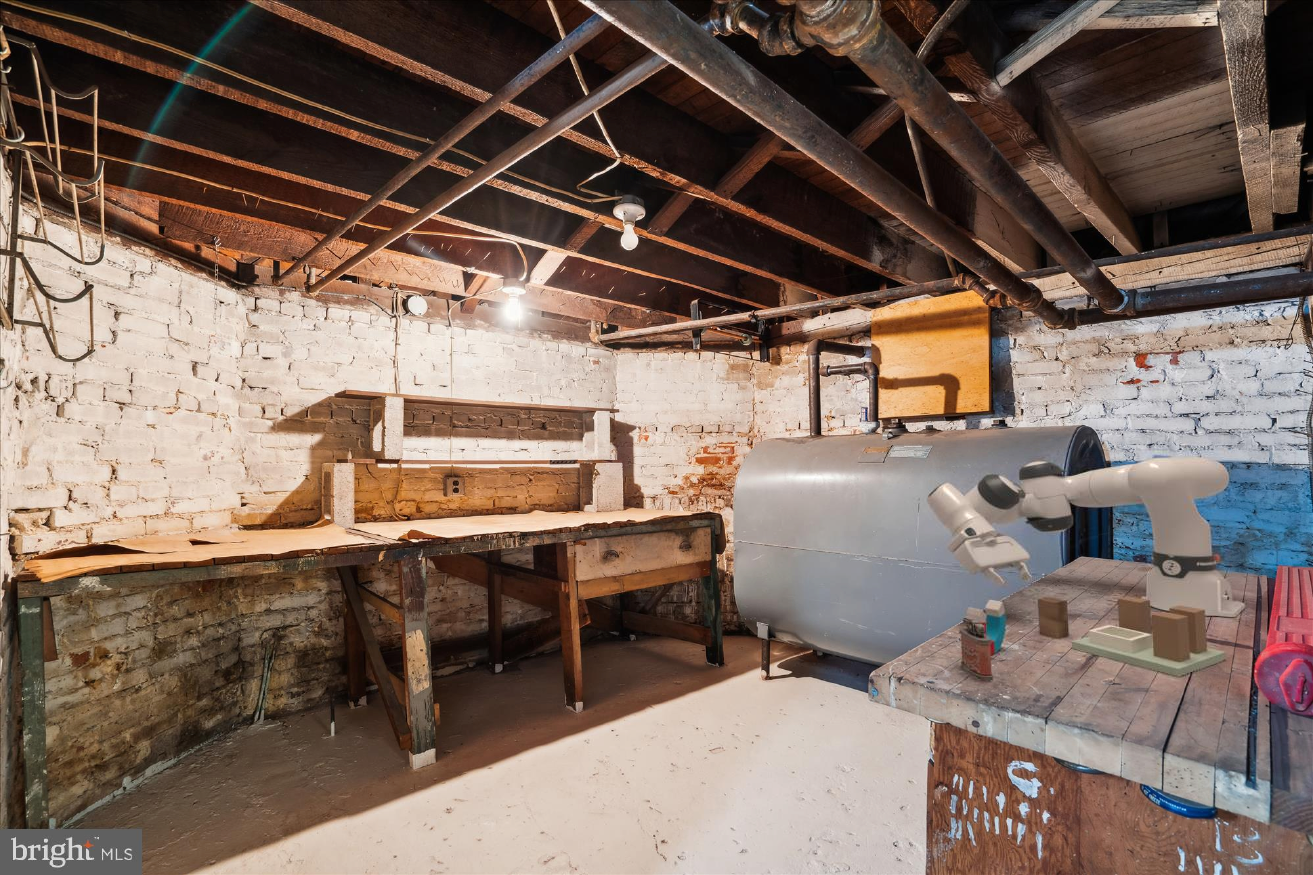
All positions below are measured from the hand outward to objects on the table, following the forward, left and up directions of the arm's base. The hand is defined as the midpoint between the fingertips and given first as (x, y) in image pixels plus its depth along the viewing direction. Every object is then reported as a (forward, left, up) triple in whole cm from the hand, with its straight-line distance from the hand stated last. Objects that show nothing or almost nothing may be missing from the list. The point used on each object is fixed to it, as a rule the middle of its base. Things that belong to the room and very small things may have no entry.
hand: (1016, 582), depth 136 cm
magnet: (+23, +8, -11) cm, 26 cm away
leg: (0, +8, -10) cm, 13 cm away
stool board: (-3, +24, -10) cm, 26 cm away
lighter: (+35, +14, -11) cm, 39 cm away
